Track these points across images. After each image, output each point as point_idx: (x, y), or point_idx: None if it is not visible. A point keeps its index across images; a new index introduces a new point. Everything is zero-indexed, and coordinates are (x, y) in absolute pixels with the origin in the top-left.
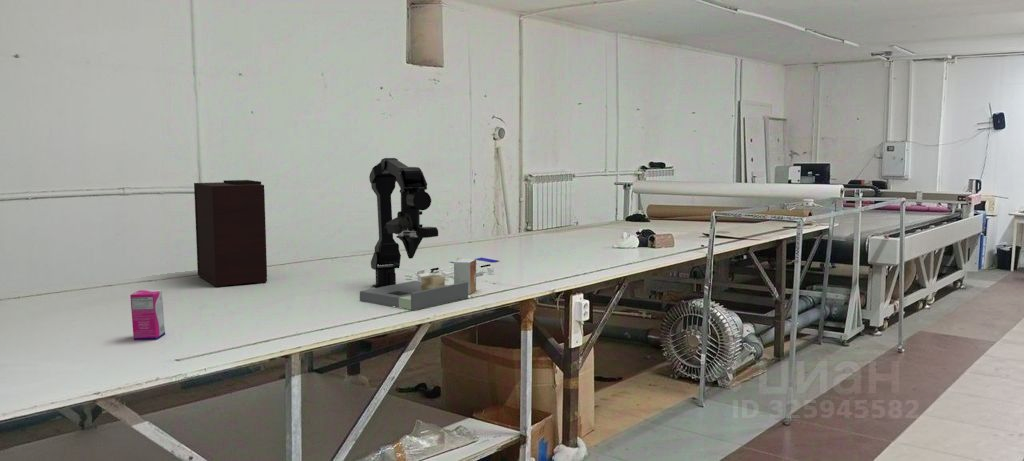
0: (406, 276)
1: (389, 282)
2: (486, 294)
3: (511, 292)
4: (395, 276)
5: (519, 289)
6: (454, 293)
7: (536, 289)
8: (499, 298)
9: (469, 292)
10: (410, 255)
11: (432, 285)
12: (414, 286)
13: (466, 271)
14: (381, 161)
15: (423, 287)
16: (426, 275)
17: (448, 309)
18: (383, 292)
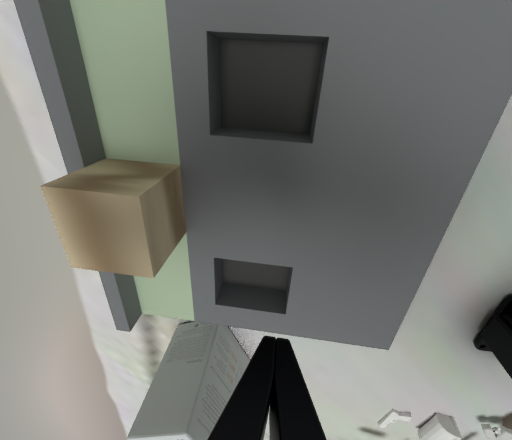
0: (503, 427)
1: (508, 326)
2: (151, 339)
3: (129, 371)
4: (503, 366)
5: (144, 396)
6: None
7: (120, 404)
8: (87, 315)
9: (178, 328)
10: (253, 358)
11: (79, 172)
12: (314, 266)
13: (156, 394)
14: None
15: (153, 173)
16: (432, 438)
17: (26, 110)
18: (362, 51)
